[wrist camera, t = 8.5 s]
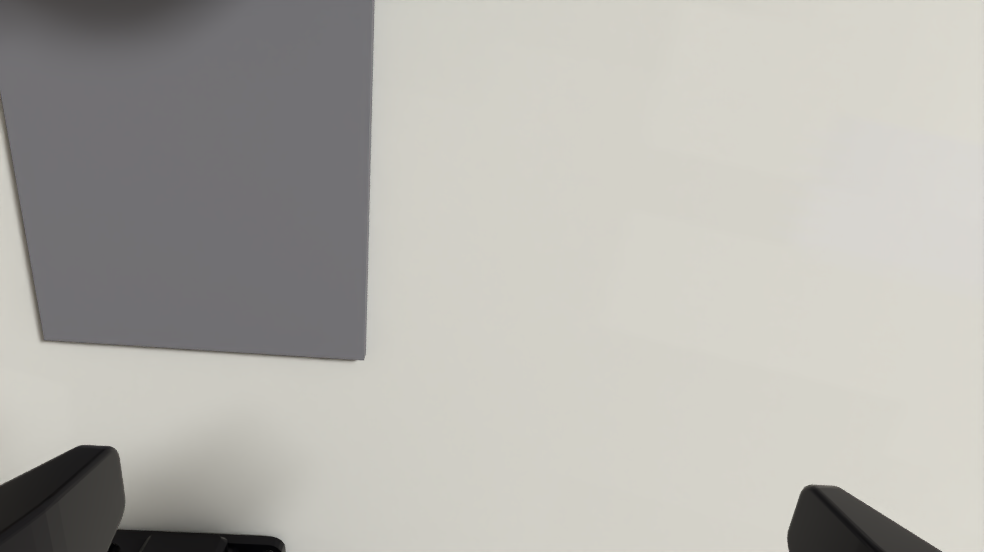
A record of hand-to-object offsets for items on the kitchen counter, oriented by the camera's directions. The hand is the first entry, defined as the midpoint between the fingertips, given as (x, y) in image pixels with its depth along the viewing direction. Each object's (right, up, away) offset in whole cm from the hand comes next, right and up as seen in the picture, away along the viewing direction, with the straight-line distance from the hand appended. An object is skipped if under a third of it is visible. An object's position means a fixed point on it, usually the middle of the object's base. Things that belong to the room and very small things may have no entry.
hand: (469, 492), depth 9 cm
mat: (-8, +6, +11) cm, 15 cm away
